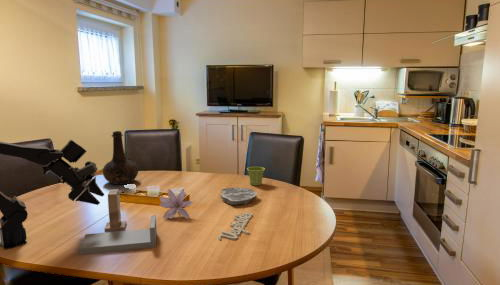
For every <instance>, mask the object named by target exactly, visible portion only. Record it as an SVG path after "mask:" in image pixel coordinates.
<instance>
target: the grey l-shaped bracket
mask: <svg viewBox="0 0 500 285" xmlns="http://www.w3.org/2000/svg"><path fill="white" fill-rule="evenodd" d="M157 234H158V233H157V215H156V214H155V215H152V214H151V215H150V223H149V228H143V229H141V228H140V229H131V230H120V231H108V232H99V233H98V232H97V233H86V234H85V235H84V237H83V239H82V241H81V242H80V244H79V246H78V248H77V253H78V255H79V256H80V255H88V254H97V253H98V254H99V253H108V252H119V251H121V252H122V251H128V250H129V251H130V250H138V249H149V248H156V247H157V246H156V245H157Z"/></svg>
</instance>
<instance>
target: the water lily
mask: <svg viewBox="0 0 500 285" xmlns="http://www.w3.org/2000/svg"><path fill="white" fill-rule="evenodd" d="M167 195H168V197H169V198H168V197H160V198H159V200H160V203H159V206H160V207H161V208H164V209H168V210H167V211H166V212H164V214H163V216H162V219H163V220H167V219H168V218H169V219H173V218H174V217H175V215H176V214H177V213H179V215H181V216H182V217H184V218H185V219H190V214H189V213H188V211H187V210H186V209H185V208H186V207H188V206H191V205H193V204H194V202H193V201H191V200H187V201H184V199H185V197H186V192H185V188H183V189H181V190H180V191H179V193H178V195H177V196H176V194H175V193H174V191H173V190H172V189H168V188H167Z"/></svg>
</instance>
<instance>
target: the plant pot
mask: <svg viewBox="0 0 500 285" xmlns="http://www.w3.org/2000/svg"><path fill="white" fill-rule="evenodd" d="M246 170H247V173H248V177H249V184H250V186H254V185H255V187H256V186H257V185H259V186H261V185H262V182H263V176H264V171H265V170H266V168H265V167H262V166H250V167H247V168H246ZM257 187H258V186H257Z"/></svg>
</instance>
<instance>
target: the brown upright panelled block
mask: <svg viewBox="0 0 500 285" xmlns="http://www.w3.org/2000/svg"><path fill="white" fill-rule="evenodd" d="M120 198H121V197H120V189H118V188H117V189H116V188H115V189H109V191H108V192H107V205H108V217H109V220H108V222H106V224H105V227H104V233H106V232H118V231H126V228H127V220H122V215H121V214H122V213H121V212H122V211H121V200H120Z"/></svg>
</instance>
